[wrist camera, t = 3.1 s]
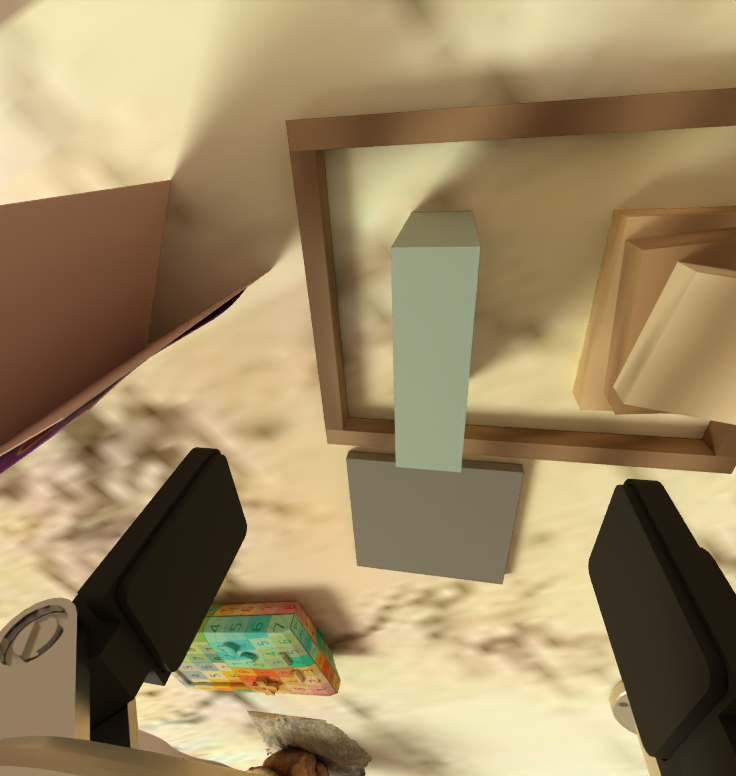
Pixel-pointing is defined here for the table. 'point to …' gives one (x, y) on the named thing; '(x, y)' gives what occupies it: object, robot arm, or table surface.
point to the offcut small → (687, 348)
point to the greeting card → (77, 305)
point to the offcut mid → (655, 290)
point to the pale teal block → (433, 336)
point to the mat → (433, 516)
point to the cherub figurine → (307, 748)
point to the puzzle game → (259, 652)
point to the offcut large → (604, 303)
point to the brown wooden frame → (523, 120)
